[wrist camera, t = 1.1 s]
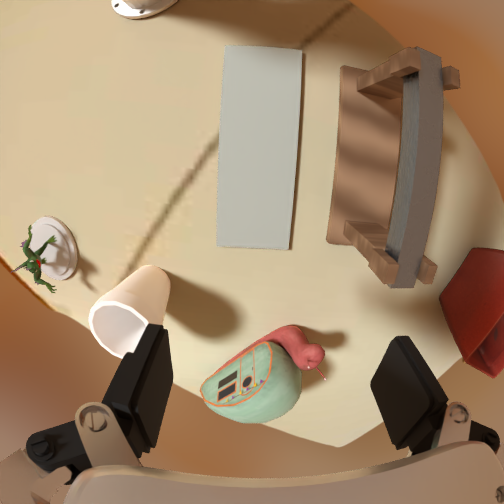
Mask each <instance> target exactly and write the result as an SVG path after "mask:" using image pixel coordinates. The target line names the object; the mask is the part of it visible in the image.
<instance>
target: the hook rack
mask: <svg viewBox="0 0 504 504" xmlns="http://www.w3.org/2000/svg"><path fill="white" fill-rule="evenodd" d="M420 70H421V60H420V51H418V50H416V49H413V48H411V47H407V48H405V49H403V50H402V51H400V52H398V53H396V54H394V55H392V56H390V57H389V61H387V62H385V63H383V64H382V65H380V66H378V67H376V68H374V69H372V70H370V71H366V70H362V69H358V68H353V67H349V66H345V65H343V66H342V67H341V68H340V98H339V119H338V135H337V148H336V160H335V171H334V181H333V190H332V199H331V207H330V215H329V222H328V230H327V236H326V240H327V242H328V243H330V244H347V245H354V246H355V247H356V248H357V250H358V251H359V252H360V253H361V254H362V255H363V256H364V257H365V258H366V259H367V261H368V262H369V265H368V266H369V267H370V268H371V270H372V271H373V272H374V273H375V274H376V275H377V277H378V278H379V279H380V280H381V281H382V283H383V284H394V283H395V279H396V276H397V272H398V268H399V264H398V263H397V262H396V261H395V260H394V259H393V258H392V257H391V256H390V255H388V254H387V253H386V252H385V247H386V243H387V238H388V233H389V231H388V225H389V220H390V214H391V208H392V202H393V196H394V189H395V182H396V174H397V165H398V155H399V144H400V129H401V104H402V97H403V76H405V75H408V74H411V73H414V72H417V71H420ZM442 79H443V91H444V90H451V89H458V88H460V79H459V70H457V69H455V68H454V67H452V66H448V67H444V68H442ZM436 269H437V265H436V264H434V263H433V262H432V261H431V260H429V259H428V258H427V257H425V256H424V255H423V257H422V261H421V264H420V268H419V271H418V275H417V278H418V279H419V280H420V281H421V282H422V283H423V284H432V282H433V279H434V276H435V273H436Z"/></svg>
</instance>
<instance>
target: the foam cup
mask: <svg viewBox="0 0 504 504" xmlns="http://www.w3.org/2000/svg"><path fill="white" fill-rule="evenodd" d="M170 290H171V283H170V280H169V278H168V276H167V274H166V273H165V272H164V271H163V270H162V269H161V268H159V267H156V266H153V265H144V266H142V267H141V268H139V269H138V270H136V271H135V272H134V273H132V274H131V275H130V276H129V277H127V278H126V279H125V280H124V281H122V282H121V283H120V284H119V285H117V286H116V287H115V288H114V289H112V290H111V291H109V292H107V293H106V294H104V295H103V296H102V297H100V298H99V299H98V300H97V302H96V303H95V304H94V305H93V307H92V308H91V311H90V314H89V318H88V321H89V325H90V329H91V332H92V334H93V335H94V337H95V338H96V339H97V341H98V342H99V344H100V345H101V346H102V347H104V348H105V349H106V350H107V351H109V352H110V353H111V354H112V355H115V356H117V357H120V358H122V359H123V357H124V355H125V354H126V353H127V352H132V353H134V350H135V348H136V346H137V344H138V342H139V340H140V338H141V336H142V334H143V332H144V330H145V328H146V326H147V325H148V324H149V323H151V324H158V325H163V320H164V316H165V311H166V307H167V303H168V299H169V294H170Z"/></svg>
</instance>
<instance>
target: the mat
mask: <svg viewBox="0 0 504 504" xmlns="http://www.w3.org/2000/svg"><path fill="white" fill-rule="evenodd" d="M301 71H302V50H296V49H288V48H278V47H265V46H243V45H225V53H224V66H223V79H222V95H221V112H220V131H219V154H218V185H217V246H221V247H243V248H264V249H284V250H288V248H289V239H290V229H291V219H292V208H293V197H294V185H295V173H296V160H297V146H298V131H299V114H300V95H301Z"/></svg>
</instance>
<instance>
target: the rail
mask: <svg viewBox="0 0 504 504" xmlns="http://www.w3.org/2000/svg"><path fill="white" fill-rule="evenodd" d="M413 49H416V50H418V51H420V60H421V70H420V71H417V72H414V73H411V74H408V75H405V76H403V121H402V138H401V151H400V161H399V170H398V178H397V186H396V193H395V200H394V206H393V212H392V217H391V223H390V228H389V233H388V238H387V243H386V247H385V252H386V253H387V254H388V255H390V256H391V257H392V258H393V259H394V260H395V261H396V262H397V263H398V264H399V268H398V272H397V276H396V279H395V283H394V284H387V285H388V286H389V287H390V288H414V285H415V281H416V278H417V275H418V271H419V268H420V264H421V261H422V257H423V253H424V249H425V245H426V241H427V237H428V233H429V228H430V224H431V219H432V214H433V208H434V203H435V197H436V191H437V184H438V176H439V168H440V159H441V148H442V132H443V79H442V65H441V57H439V56H437V55H435V54H433V53H431V52H428V51H426V50H424V49H422V48H419V47H415V48H413Z"/></svg>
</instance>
